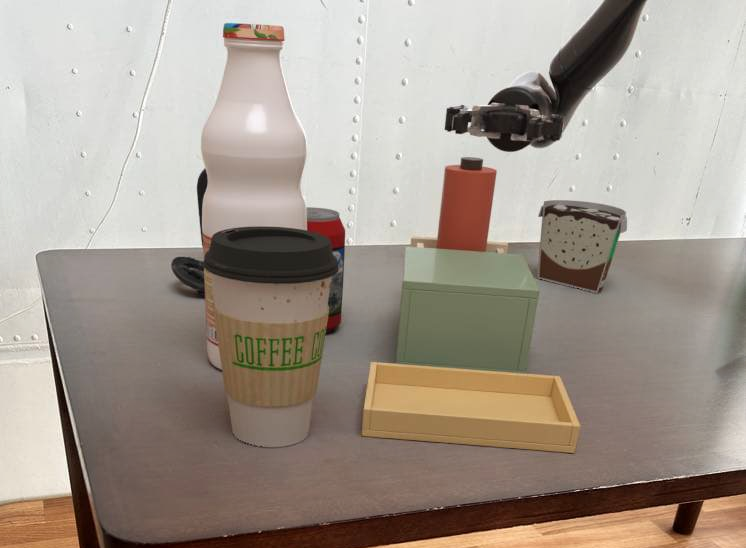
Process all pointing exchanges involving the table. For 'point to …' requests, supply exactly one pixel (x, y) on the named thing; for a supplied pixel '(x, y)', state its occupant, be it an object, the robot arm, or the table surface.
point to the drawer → (432, 243)
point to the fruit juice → (251, 148)
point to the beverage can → (333, 229)
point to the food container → (578, 242)
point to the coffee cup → (270, 326)
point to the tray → (469, 407)
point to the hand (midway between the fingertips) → (494, 127)
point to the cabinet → (466, 310)
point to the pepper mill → (466, 206)
